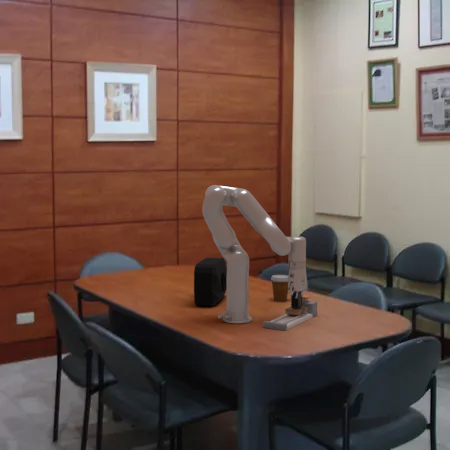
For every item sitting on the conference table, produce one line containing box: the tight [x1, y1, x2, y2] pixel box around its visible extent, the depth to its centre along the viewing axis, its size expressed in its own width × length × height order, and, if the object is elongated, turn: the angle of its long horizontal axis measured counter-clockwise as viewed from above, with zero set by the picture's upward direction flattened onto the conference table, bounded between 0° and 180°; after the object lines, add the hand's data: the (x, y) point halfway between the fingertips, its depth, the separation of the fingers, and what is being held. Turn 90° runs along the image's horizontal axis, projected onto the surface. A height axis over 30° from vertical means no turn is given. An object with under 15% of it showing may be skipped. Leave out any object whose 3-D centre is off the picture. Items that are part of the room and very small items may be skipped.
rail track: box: [262, 300, 318, 332], centre depth 308 cm, size 32×10×6 cm, turn 148°
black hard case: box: [193, 257, 227, 307], centre depth 347 cm, size 30×12×20 cm, turn 168°
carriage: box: [284, 292, 308, 316], centre depth 312 cm, size 8×7×9 cm
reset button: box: [302, 294, 311, 302], centre depth 319 cm, size 4×4×2 cm
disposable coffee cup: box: [270, 274, 289, 303], centre depth 349 cm, size 10×10×12 cm
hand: (296, 305), depth 312 cm, fingers closed on carriage, 3 cm apart
